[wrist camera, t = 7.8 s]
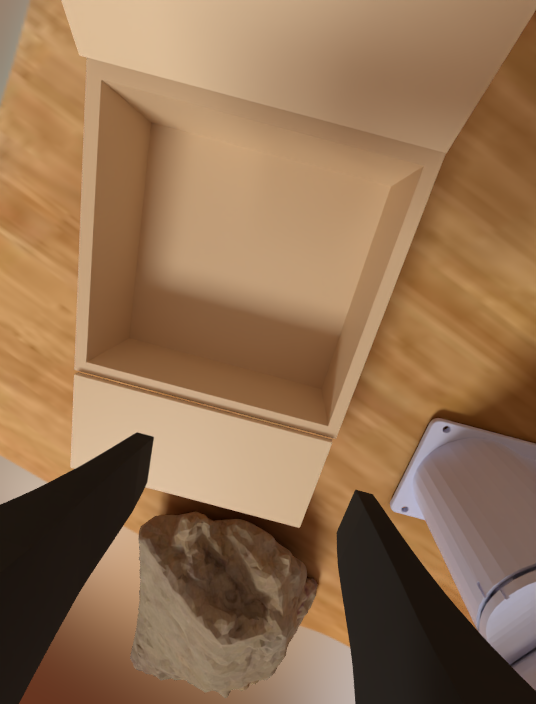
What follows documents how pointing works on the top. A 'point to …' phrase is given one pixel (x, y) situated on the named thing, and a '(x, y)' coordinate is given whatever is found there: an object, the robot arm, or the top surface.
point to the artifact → (216, 601)
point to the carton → (230, 283)
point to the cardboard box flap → (318, 54)
